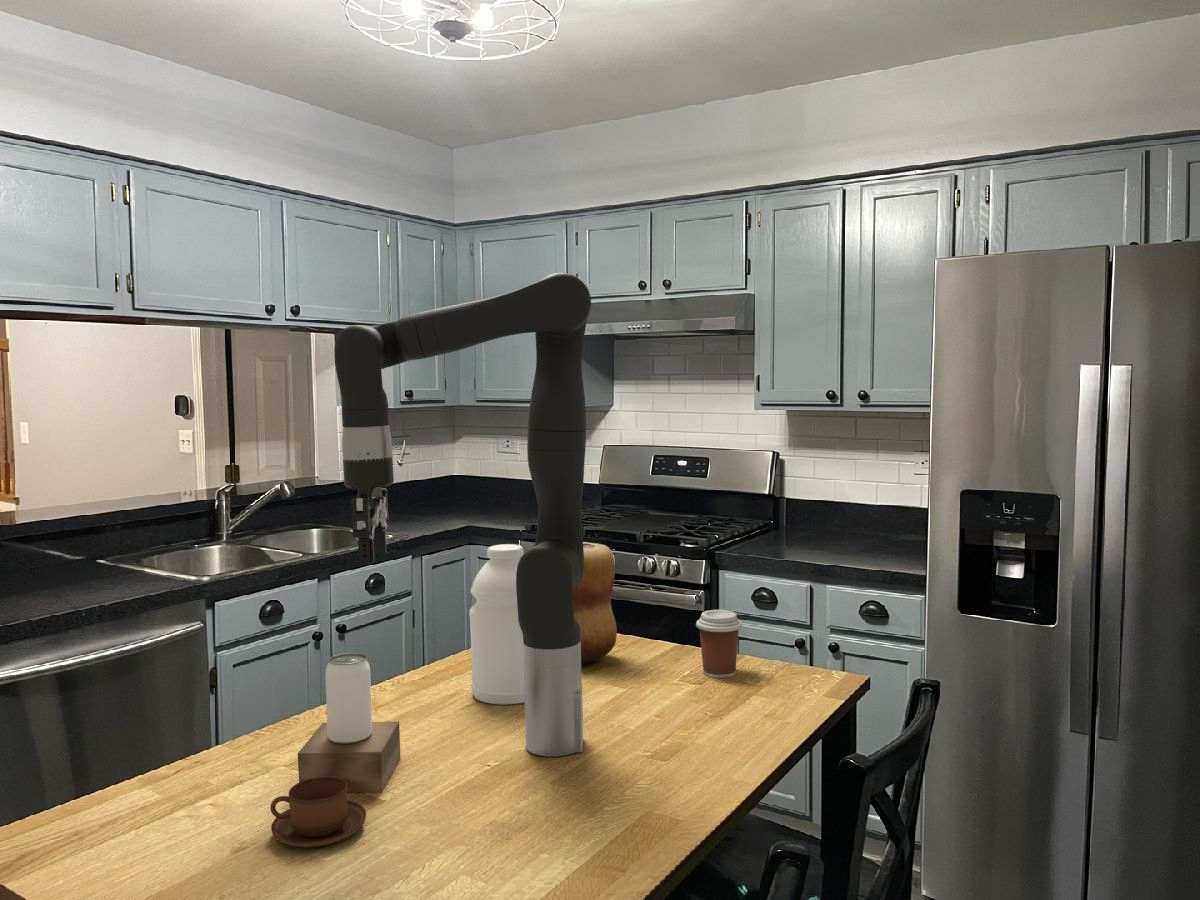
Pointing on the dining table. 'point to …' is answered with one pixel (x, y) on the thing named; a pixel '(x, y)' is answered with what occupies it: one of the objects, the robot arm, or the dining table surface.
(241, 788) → the dining table surface
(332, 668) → the can
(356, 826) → the cup and saucer
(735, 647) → the coffee cup
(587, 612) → the butternut squash
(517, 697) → the bottle
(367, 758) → the walnut block
